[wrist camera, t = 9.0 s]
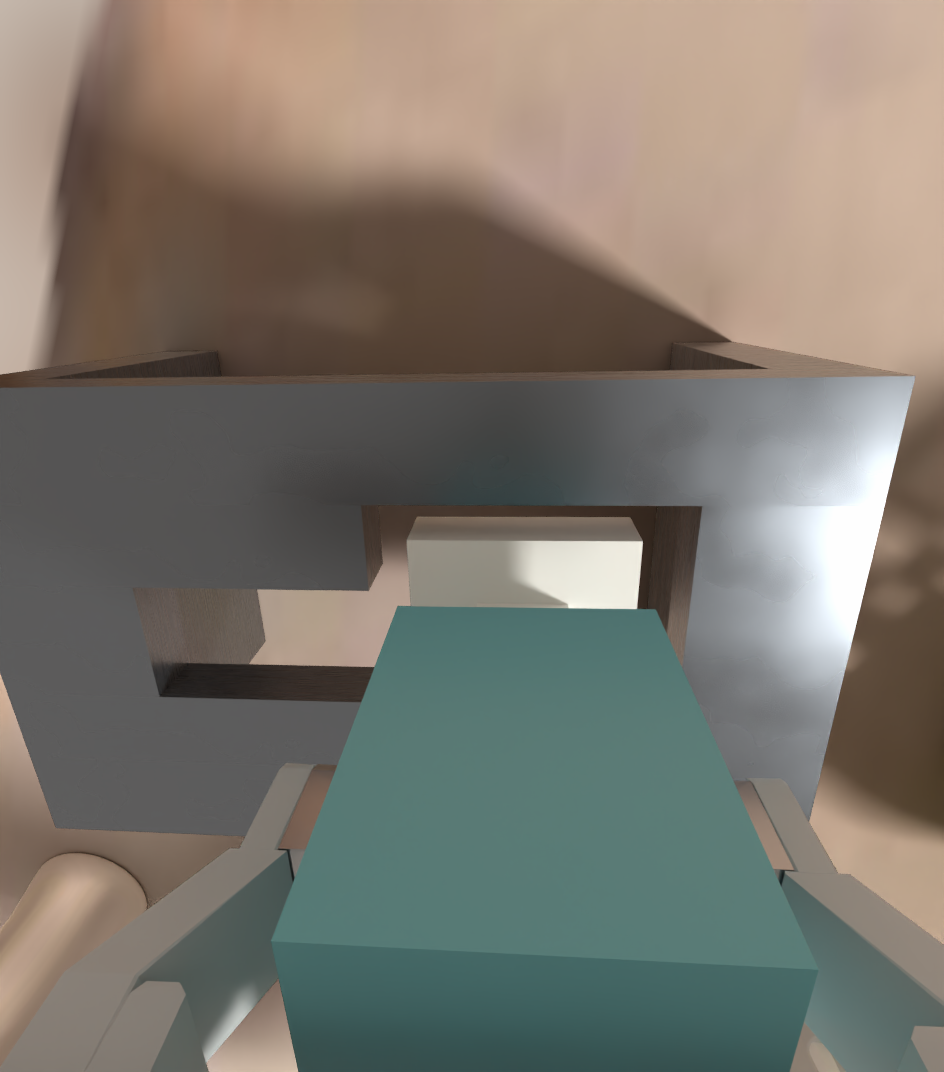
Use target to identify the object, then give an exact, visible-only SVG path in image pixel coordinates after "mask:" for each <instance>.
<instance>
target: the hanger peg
mask: <svg viewBox="0 0 944 1072" xmlns="http://www.w3.org/2000/svg"><path fill="white" fill-rule="evenodd" d="M406 541H407V556H408V572H409V587H410V602H411V606H398V607H397V609H396V612H395V615H394V617H393V620H392V623H391V625H390V628H389V631H388V633H387V636H386V638H385V641H384V644H383V646H382V649H381V652H380V654H379V657H378V660H377V662H376V665H375V668H374V670H373V673H372V675H371V678H370V681H369V683H368V686H367V689H366V691H365V694H364V697H363V699H362V702H361V705H360V707H359V710H358V712H357V715H356V718H355V720H354V723H353V726H352V728H351V731H350V734H349V736H348V739H347V741H346V744H345V747H344V749H343V752H342V755H341V757H340V760H339V763H338V765H337V768H336V771H335V773H334V776H333V778H332V781H331V784H330V786H329V789H328V792H327V794H326V797H325V800H324V802H323V805H322V808H321V810H320V813H319V815H318V818H317V821H316V823H315V826H314V829H313V831H312V834H311V837H310V839H309V842H308V844H307V847H306V850H305V852H304V855H303V858H302V860H301V863H300V866H299V868H298V871H297V874H296V876H295V879H294V881H293V884H292V887H291V889H290V892H289V895H288V897H287V900H286V903H285V905H284V908H283V911H282V913H281V916H280V918H279V921H278V924H277V926H276V929H275V932H274V934H273V937H272V940H271V944H272V949H273V954H274V959H275V963H276V968H277V973H278V977H279V982H280V987H281V992H282V996H283V1001H284V1006H285V1011H286V1015H287V1020H288V1025H289V1030H290V1034H291V1039H292V1044H293V1048H294V1053H295V1058H296V1063H297V1067H298V1072H790V1069H791V1066H792V1062H793V1059H794V1055H795V1052H796V1048H797V1045H798V1041H799V1038H800V1034H801V1031H802V1027H803V1024H804V1020H805V1017H806V1013H807V1010H808V1006H809V1003H810V999H811V996H812V992H813V989H814V985H815V982H816V978H817V975H818V971H819V969H818V967H817V964H816V962H815V960H814V958H813V956H812V953H811V951H810V949H809V947H808V945H807V942H806V940H805V938H804V936H803V934H802V931H801V929H800V927H799V925H798V923H797V920H796V918H795V916H794V914H793V911H792V909H791V907H790V905H789V903H788V900H787V898H786V896H785V894H784V892H783V889H782V887H781V885H780V883H779V881H778V878H777V876H776V874H775V872H774V869H773V867H772V865H771V863H770V861H769V858H768V856H767V854H766V852H765V850H764V847H763V845H762V843H761V841H760V839H759V836H758V834H757V832H756V830H755V828H754V825H753V823H752V821H751V819H750V816H749V814H748V812H747V810H746V808H745V805H744V803H743V801H742V799H741V797H740V794H739V792H738V790H737V788H736V786H735V783H734V781H733V779H732V777H731V775H730V772H729V770H728V768H727V766H726V763H725V761H724V759H723V757H722V755H721V752H720V750H719V748H718V746H717V744H716V741H715V739H714V737H713V735H712V733H711V730H710V728H709V726H708V724H707V721H706V719H705V717H704V715H703V713H702V710H701V708H700V706H699V704H698V702H697V699H696V697H695V695H694V693H693V691H692V688H691V686H690V684H689V682H688V680H687V677H686V675H685V673H684V671H683V668H682V666H681V664H680V662H679V660H678V657H677V655H676V653H675V651H674V649H673V646H672V644H671V642H670V640H669V638H668V635H667V633H666V631H665V629H664V626H663V624H662V622H661V620H660V618H659V615H658V613H657V611H656V609H637V603H638V591H639V580H640V569H641V558H642V547H643V541H642V539H641V537H640V535H639V533H638V531H637V529H636V527H635V525H634V523H633V522H632V520H631V518H630V517H417V518H416V520H415V522H414V524H413V527H412V529H411V531H410V533H409V536H408V538H407V540H406Z"/></svg>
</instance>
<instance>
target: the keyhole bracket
mask: <svg viewBox="0 0 944 1072" xmlns="http://www.w3.org/2000/svg"><path fill="white" fill-rule="evenodd" d="M914 380H915V376H912V375H907V374H902V373H897V372H891V371H886V370H881V369H875V368H870V367H865V366H859V365H854V364H849V363H843V362H838V361H833V360H827V359H822V358H817V357H811V356H806V355H801V354H795V353H790V352H785V351H780V350H774V349H769V348H764V347H758V346H753V345H748V344H742V343H737V342H692V343H672V353H671V364H670V370H665V371H593V372H521V373H450V374H378V375H306V376H234V377H221V373H220V367H219V361H218V355H217V351H170V352H157V353H150V354H143V355H136V356H129V357H122V358H115V359H108V360H101V361H94V362H86V363H79V364H72V365H65V366H58V367H51V368H44V369H37V370H30V371H23V372H16V373H9V374H2V375H0V674H1V676H2V679H3V682H4V685H5V688H6V690H7V693H8V696H9V699H10V701H11V704H12V707H13V710H14V713H15V715H16V718H17V721H18V724H19V727H20V729H21V732H22V735H23V738H24V741H25V743H26V746H27V749H28V752H29V754H30V757H31V760H32V763H33V766H34V768H35V771H36V774H37V777H38V780H39V782H40V785H41V788H42V791H43V793H44V796H45V799H46V802H47V805H48V807H49V810H50V813H51V816H52V819H53V821H54V824H55V827H56V828H68V829H91V830H113V831H136V832H158V833H181V834H203V835H225V836H246V834H247V832H248V830H249V828H250V826H251V824H252V822H253V820H254V818H255V816H256V814H257V812H258V810H259V808H260V806H261V804H262V802H263V800H264V798H265V796H266V794H267V793H268V791H269V789H270V787H271V785H272V783H273V781H274V779H275V777H276V775H277V773H278V771H279V769H280V768H281V767H283V766H284V765H285V764H286V763H296V764H311V765H317V764H325V765H338V763H339V760H340V757H341V755H342V752H343V749H344V747H345V744H346V741H347V739H348V736H349V734H350V731H351V728H352V726H353V723H354V720H355V718H356V715H357V712H358V710H359V707H360V705H361V702H362V699H363V697H364V694H365V691H366V689H367V686H368V683H369V681H370V678H371V675H372V673H373V670H374V668H375V667H341V666H297V665H253V664H249V663H250V661H251V660H252V659H253V657H254V656H255V655H256V653H257V652H258V651H259V649H260V648H261V647H262V645H263V644H264V642H265V635H264V629H263V623H262V618H261V612H260V606H259V600H258V594H257V589H278V590H354V591H369V589H370V587H371V585H372V583H373V581H374V579H375V577H376V576H377V574H378V572H379V570H380V568H381V566H382V564H383V560H382V547H381V535H380V523H379V511H378V505H511V506H657V511H656V522H655V532H654V543H653V553H652V564H651V575H650V585H649V596H648V606H647V609H656V611H657V613H658V615H659V618H660V620H661V622H662V624H663V626H664V629H665V631H666V633H667V635H668V638H669V640H670V642H671V644H672V646H673V649H674V651H675V653H676V655H677V657H678V660H679V662H680V664H681V666H682V668H683V671H684V673H685V675H686V677H687V680H688V682H689V684H690V686H691V688H692V691H693V693H694V695H695V697H696V699H697V702H698V704H699V706H700V708H701V710H702V713H703V715H704V717H705V719H706V721H707V724H708V726H709V728H710V730H711V733H712V735H713V737H714V739H715V741H716V744H717V746H718V748H719V750H720V752H721V755H722V757H723V759H724V761H725V763H726V766H727V768H728V770H729V772H730V775H731V777H732V778H743V779H746V778H774V779H782V780H783V781H784V782H786V783H787V784H788V786H789V788H790V790H791V791H792V793H793V795H794V797H795V798H796V800H797V802H798V804H799V805H800V807H801V809H802V811H803V812H804V814H805V816H806V818H807V819H808V821H809V820H810V816H811V811H812V807H813V803H814V799H815V795H816V790H817V786H818V782H819V778H820V774H821V769H822V765H823V761H824V757H825V753H826V749H827V744H828V740H829V736H830V732H831V728H832V723H833V719H834V715H835V711H836V707H837V703H838V698H839V694H840V690H841V686H842V682H843V677H844V673H845V669H846V665H847V661H848V657H849V652H850V648H851V644H852V640H853V636H854V631H855V627H856V623H857V619H858V615H859V611H860V606H861V602H862V598H863V594H864V590H865V585H866V581H867V577H868V573H869V569H870V564H871V560H872V556H873V552H874V548H875V544H876V539H877V535H878V531H879V527H880V523H881V518H882V514H883V510H884V506H885V502H886V498H887V493H888V489H889V485H890V481H891V477H892V472H893V468H894V464H895V460H896V456H897V452H898V447H899V443H900V439H901V435H902V431H903V426H904V422H905V418H906V414H907V410H908V405H909V401H910V397H911V393H912V389H913V385H914Z"/></svg>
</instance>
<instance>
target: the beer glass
mask: <svg viewBox="0 0 944 1072" xmlns="http://www.w3.org/2000/svg"><path fill="white" fill-rule="evenodd" d="M146 910H147V901H146V897H145V894H144V891H143V889H142V888H141V886H140V884H139V883H138V882H137V881H136V879H135V878H134V877H133V876H132V875H131V874H130V873H128V872H127V871H126V870H125V869H123V868H122V867H120V866H119V865H117V864H115V863H113V862H111V861H109V860H107V859H104V858H102V857H99V856H95V855H91V854H85V853H68V854H62V855H58V856H56V857H53V858H51V859H50V860H48V861H47V862H46V863H45V864H43V865H42V866H41V868H40V869H39V870H38V872H37V873H36V875H35V876H34V878H33V879H32V881H31V883H30V884H29V886H28V888H27V889H26V891H25V893H24V895H23V896H22V898H21V900H20V901H19V903H18V905H17V906H16V908H15V909H14V911H13V912H12V914H11V915H10V917H9V918H8V920H7V921H6V922H5V923H4V925H3V926H2V927H1V929H0V1066H1V1065H2V1063H3V1062H4V1060H5V1059H6V1057H7V1056H8V1054H9V1053H10V1051H11V1050H12V1049H13V1047H14V1046H15V1044H16V1043H17V1041H18V1040H19V1038H20V1037H21V1035H22V1034H23V1032H24V1031H25V1029H26V1028H27V1026H28V1025H29V1023H30V1022H31V1020H32V1019H33V1017H34V1016H35V1014H36V1013H37V1011H38V1010H39V1008H40V1007H41V1005H42V1004H43V1002H44V1001H45V1000H46V998H47V997H48V995H49V994H50V992H51V991H52V989H53V988H54V986H55V985H56V983H57V982H58V980H59V979H60V977H61V976H62V974H63V973H64V972H65V971H66V970H67V969H69V968H70V967H71V966H73V965H74V964H75V963H77V962H78V961H79V960H81V959H82V958H83V957H85V956H86V955H87V954H89V953H90V952H91V951H93V950H94V949H95V948H97V947H98V946H99V945H101V944H102V943H103V942H105V941H106V940H107V939H109V938H110V937H111V936H113V935H114V934H115V933H117V932H118V931H119V930H121V929H122V928H124V927H125V926H126V925H128V924H129V923H130V922H132V921H133V920H134V919H136V918H137V917H138V916H140V915H141V914H142V913H144V912H145V911H146Z"/></svg>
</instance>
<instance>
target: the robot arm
mask: <svg viewBox="0 0 944 1072" xmlns="http://www.w3.org/2000/svg"><path fill="white" fill-rule="evenodd" d="M336 768H337V765H325V764H317V765H311V764H296V763H286V764H285V765H284V766H283V767H281V768H280V769H279V771H278V773H277V775H276V777H275V779H274V781H273V783H272V785H271V787H270V789H269V791H268V793H267V794H266V796H265V798H264V800H263V802H262V804H261V806H260V808H259V810H258V812H257V814H256V816H255V818H254V820H253V822H252V824H251V826H250V828H249V830H248V832H247V834H246V836H245V838H244V840H243V842H242V844H241V846H240V848H229V849H228V850H226V851H225V852H224V853H222V854H221V855H220V856H218V857H217V858H216V859H214V860H213V861H212V862H210V863H209V864H208V865H206V866H205V867H204V868H202V869H201V870H200V871H198V872H197V873H196V874H194V875H193V876H192V877H190V878H189V879H188V880H186V881H185V882H184V883H182V884H181V885H180V886H178V887H177V888H176V889H174V890H173V891H172V892H170V893H169V894H168V895H166V896H165V897H164V898H162V899H161V900H160V901H158V902H157V903H156V904H154V905H153V906H152V907H150V908H149V909H148V910H146V911H145V912H144V913H142V914H141V915H140V916H138V917H137V918H136V919H134V920H133V921H132V922H130V923H129V924H128V925H126V926H125V927H124V928H122V929H121V930H119V931H118V932H117V933H115V934H114V935H113V936H111V937H110V938H109V939H107V940H106V941H105V942H103V943H102V944H101V945H99V946H98V947H97V948H95V949H94V950H93V951H91V952H90V953H89V954H87V955H86V956H85V957H83V958H82V959H81V960H79V961H78V962H77V963H75V964H74V965H73V966H71V967H70V968H69V969H67V970H66V971H65V972H64V973H63V974H62V976H61V977H60V979H59V980H58V982H57V983H56V985H55V986H54V988H53V989H52V991H51V992H50V994H49V995H48V997H47V998H46V1000H45V1001H44V1002H43V1004H42V1005H41V1007H40V1008H39V1010H38V1011H37V1013H36V1014H35V1016H34V1017H33V1019H32V1020H31V1022H30V1023H29V1025H28V1026H27V1028H26V1029H25V1031H24V1032H23V1034H22V1035H21V1037H20V1038H19V1040H18V1041H17V1043H16V1044H15V1046H14V1047H13V1049H12V1050H11V1051H10V1053H9V1054H8V1056H7V1057H6V1059H5V1060H4V1062H3V1063H2V1065H1V1066H0V1072H209V1071H208V1068H207V1065H206V1062H207V1061H208V1060H209V1059H210V1058H211V1057H212V1055H213V1054H214V1053H215V1052H216V1051H217V1050H218V1048H219V1047H220V1046H221V1045H222V1044H223V1043H224V1041H225V1040H226V1039H227V1038H228V1037H229V1036H230V1034H231V1033H232V1032H233V1031H234V1030H235V1029H236V1027H237V1026H238V1025H239V1024H240V1023H241V1022H242V1020H243V1019H244V1018H245V1017H246V1016H247V1015H248V1013H249V1012H250V1011H251V1010H252V1009H253V1007H254V1006H255V1005H256V1004H257V1003H258V1002H259V1000H260V999H261V998H262V997H263V996H264V995H265V993H266V992H267V991H268V990H269V989H270V988H271V986H272V985H273V984H274V983H275V982H276V981H277V979H278V978H279V977H278V973H277V968H276V963H275V959H274V954H273V949H272V944H271V940H272V937H273V934H274V932H275V929H276V926H277V924H278V921H279V918H280V916H281V913H282V911H283V908H284V905H285V903H286V900H287V897H288V895H289V892H290V889H291V887H292V884H293V881H294V879H295V876H296V874H297V871H298V868H299V866H300V863H301V860H302V858H303V855H304V852H305V850H306V847H307V844H308V842H309V839H310V837H311V834H312V831H313V829H314V826H315V823H316V821H317V818H318V815H319V813H320V810H321V808H322V805H323V802H324V800H325V797H326V794H327V792H328V789H329V786H330V784H331V781H332V778H333V776H334V773H335V771H336ZM732 779H733V781H734V783H735V786H736V788H737V790H738V792H739V794H740V797H741V799H742V801H743V803H744V805H745V808H746V810H747V812H748V814H749V816H750V819H751V821H752V823H753V825H754V828H755V830H756V832H757V834H758V836H759V839H760V841H761V843H762V845H763V847H764V850H765V852H766V854H767V856H768V858H769V861H770V863H771V865H772V867H773V869H774V872H775V874H776V876H777V878H778V881H779V883H780V885H781V887H782V889H783V892H784V894H785V896H786V898H787V900H788V903H789V905H790V907H791V909H792V911H793V914H794V916H795V918H796V920H797V923H798V925H799V927H800V929H801V931H802V934H803V936H804V938H805V940H806V942H807V945H808V947H809V949H810V951H811V953H812V956H813V958H814V960H815V962H816V964H817V967H818V969H819V971H818V975H817V978H816V982H815V985H814V989H813V992H812V996H811V999H810V1003H809V1006H808V1010H807V1013H806V1017H805V1020H804V1024H803V1027H802V1031H801V1034H800V1038H799V1041H798V1045H797V1048H796V1052H795V1055H794V1059H793V1062H792V1066H791V1069H790V1072H944V945H943V944H942V943H941V942H939V941H938V940H937V939H935V938H934V937H933V936H931V935H930V934H929V933H927V932H926V931H925V930H923V929H922V928H921V927H919V926H918V925H917V924H915V923H914V922H913V921H911V920H910V919H909V918H907V917H906V916H905V915H903V914H902V913H901V912H899V911H898V910H897V909H895V908H894V907H893V906H891V905H890V904H889V903H887V902H886V901H885V900H883V899H882V898H881V897H879V896H878V895H877V894H875V893H874V892H873V891H871V890H870V889H869V888H867V887H866V886H865V885H863V884H862V883H861V882H859V881H858V880H857V879H855V878H854V877H853V876H851V875H850V874H838V872H837V870H836V868H835V867H834V865H833V863H832V861H831V860H830V858H829V856H828V854H827V853H826V851H825V849H824V847H823V846H822V844H821V842H820V840H819V839H818V837H817V835H816V833H815V832H814V830H813V828H812V826H811V825H810V823H809V821H808V819H807V818H806V816H805V814H804V812H803V811H802V809H801V807H800V805H799V804H798V802H797V800H796V798H795V797H794V795H793V793H792V791H791V790H790V788H789V786H788V784H787V783H786V782H784V781H783V780H782V779H774V778H746V779H743V778H732Z"/></svg>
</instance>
